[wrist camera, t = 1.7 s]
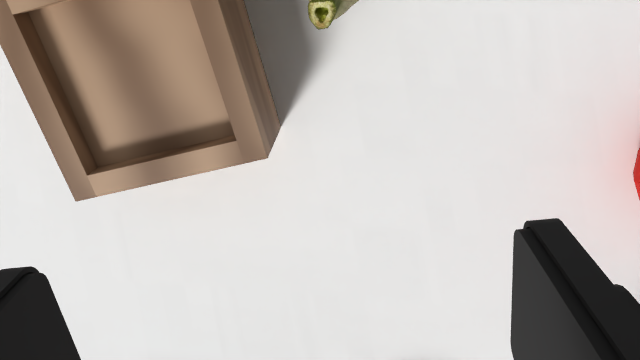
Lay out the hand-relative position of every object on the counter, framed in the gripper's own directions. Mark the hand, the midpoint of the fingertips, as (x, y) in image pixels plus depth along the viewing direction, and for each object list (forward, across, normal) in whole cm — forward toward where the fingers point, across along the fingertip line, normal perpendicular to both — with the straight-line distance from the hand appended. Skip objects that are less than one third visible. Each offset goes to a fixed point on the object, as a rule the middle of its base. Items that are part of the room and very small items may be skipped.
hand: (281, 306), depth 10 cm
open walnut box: (+27, +11, -1) cm, 29 cm away
